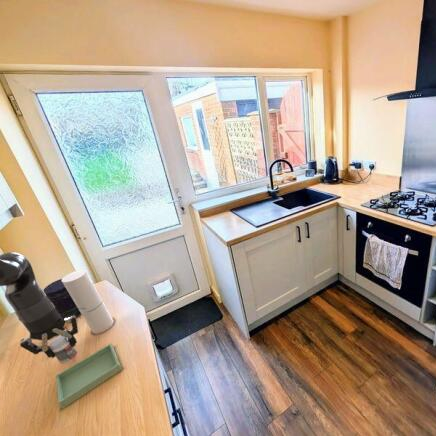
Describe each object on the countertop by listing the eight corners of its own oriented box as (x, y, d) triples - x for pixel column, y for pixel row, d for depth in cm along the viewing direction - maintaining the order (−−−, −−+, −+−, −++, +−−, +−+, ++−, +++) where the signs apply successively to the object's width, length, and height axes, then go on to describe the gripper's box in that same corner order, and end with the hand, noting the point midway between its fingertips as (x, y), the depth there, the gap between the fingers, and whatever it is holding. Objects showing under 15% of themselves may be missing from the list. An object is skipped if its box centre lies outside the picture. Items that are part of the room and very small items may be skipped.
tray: (62, 408, 70) (58, 403, 69) (59, 380, 79) (55, 375, 78) (122, 369, 80) (119, 364, 79) (113, 348, 88) (110, 343, 87)
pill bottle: (75, 360, 83) (63, 343, 80) (58, 366, 81) (45, 349, 78) (79, 349, 87) (68, 332, 84) (63, 355, 86) (51, 338, 82)
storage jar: (87, 300, 114) (72, 274, 108) (90, 310, 108) (74, 283, 101) (60, 312, 109) (43, 285, 102) (61, 324, 102) (42, 296, 96)
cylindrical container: (99, 320, 101) (70, 271, 91) (117, 317, 102) (90, 268, 92) (88, 335, 95) (56, 283, 85) (107, 332, 95) (77, 280, 85)
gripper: (65, 294, 83) (87, 330, 90) (5, 320, 74) (35, 358, 81) (67, 304, 78) (91, 342, 85) (3, 334, 69) (35, 373, 76)
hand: (63, 350), depth 83 cm, fingers closed on pill bottle, 4 cm apart
